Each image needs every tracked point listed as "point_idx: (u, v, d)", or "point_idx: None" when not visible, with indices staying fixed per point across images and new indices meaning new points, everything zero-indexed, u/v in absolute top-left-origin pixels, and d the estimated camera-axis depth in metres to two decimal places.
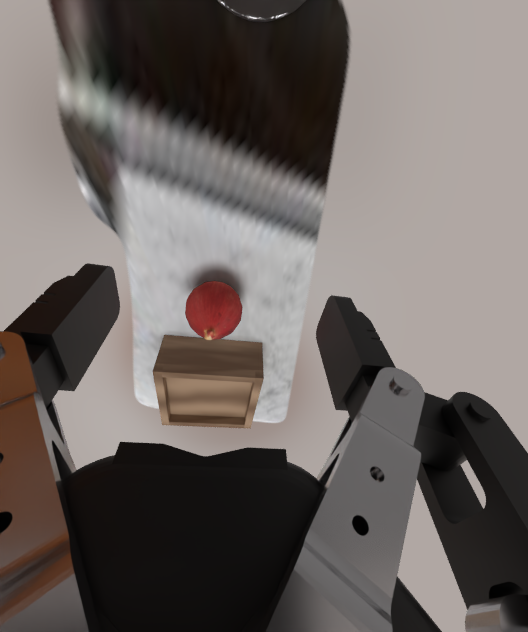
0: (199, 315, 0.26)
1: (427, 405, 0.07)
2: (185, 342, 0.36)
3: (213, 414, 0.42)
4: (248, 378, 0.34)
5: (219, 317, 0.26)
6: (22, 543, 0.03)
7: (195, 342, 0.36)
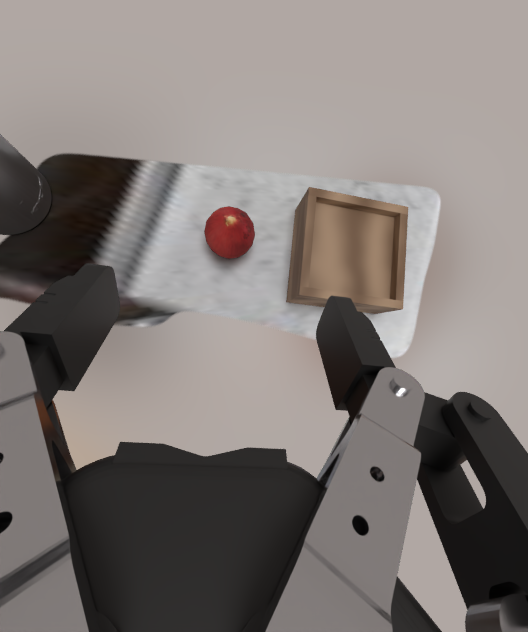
0: (217, 232, 0.30)
1: (427, 405, 0.07)
2: (290, 279, 0.36)
3: (389, 251, 0.35)
4: (309, 201, 0.33)
5: (218, 215, 0.30)
6: (22, 543, 0.03)
7: (291, 270, 0.37)
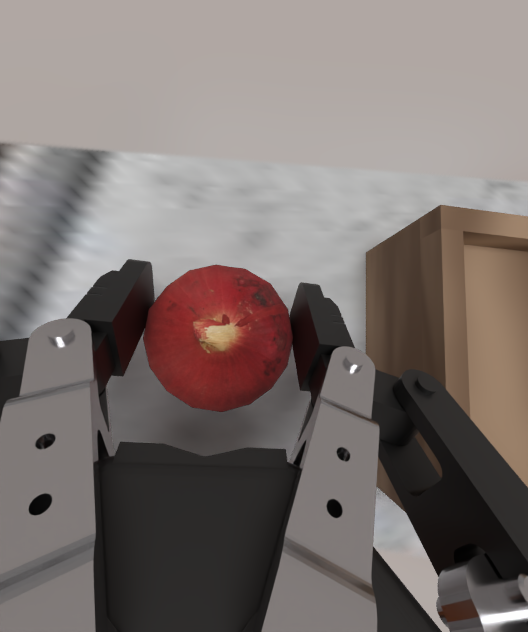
0: (175, 367, 0.09)
1: (380, 382, 0.08)
2: None
3: None
4: (444, 248, 0.11)
5: (177, 307, 0.09)
6: (55, 530, 0.03)
7: None
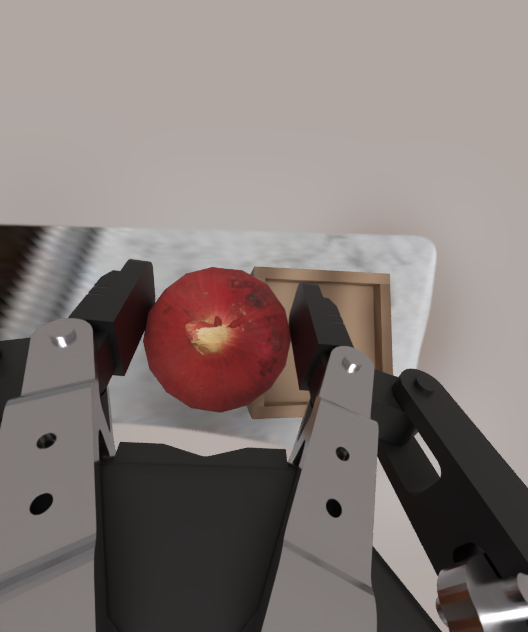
0: (171, 369, 0.09)
1: (379, 382, 0.08)
2: None
3: (370, 333, 0.27)
4: None
5: (172, 310, 0.09)
6: (56, 529, 0.03)
7: None
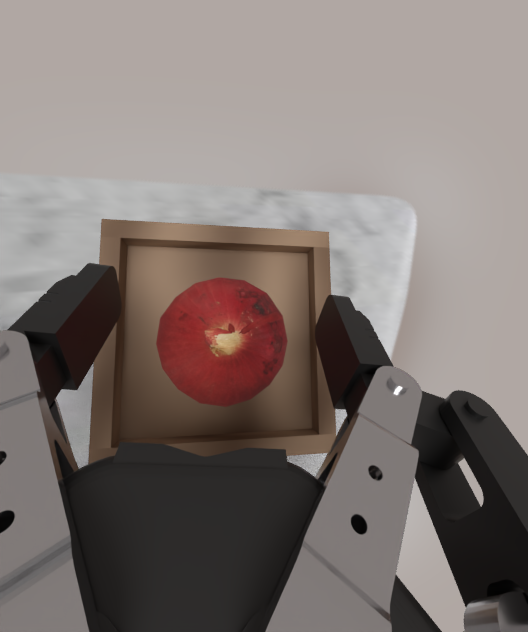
0: (187, 368, 0.10)
1: (425, 404, 0.07)
2: None
3: (303, 325, 0.17)
4: (102, 251, 0.15)
5: (188, 317, 0.10)
6: (24, 543, 0.03)
7: None
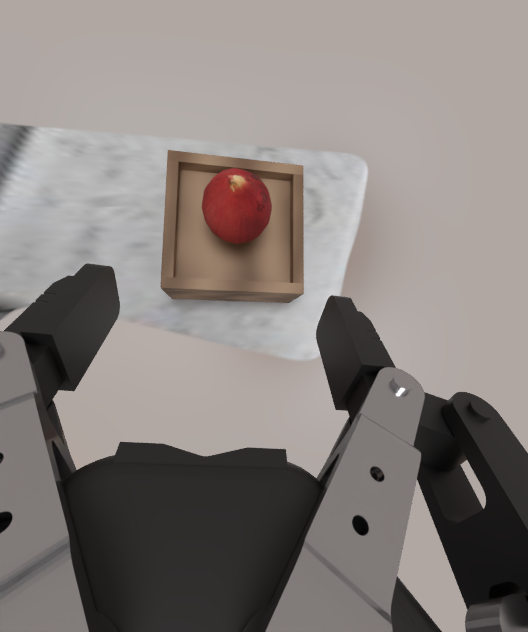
0: (219, 203, 0.21)
1: (427, 405, 0.07)
2: None
3: (286, 224, 0.28)
4: (168, 168, 0.26)
5: (219, 178, 0.21)
6: (21, 544, 0.03)
7: None
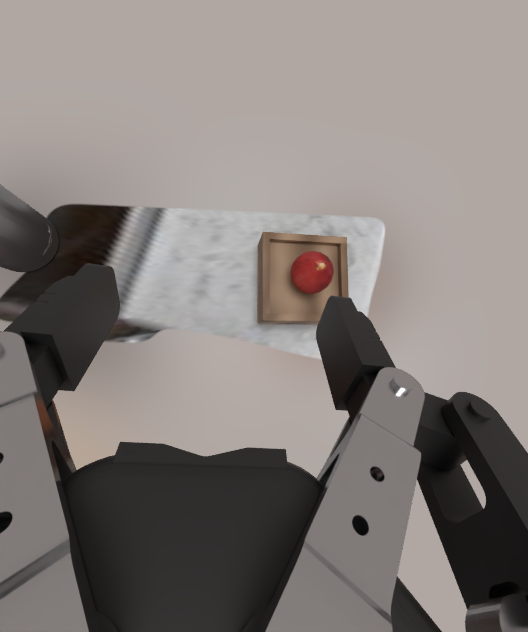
0: (307, 275, 0.36)
1: (427, 405, 0.07)
2: (258, 304, 0.44)
3: (335, 275, 0.43)
4: (263, 244, 0.40)
5: (308, 260, 0.36)
6: (22, 543, 0.03)
7: (258, 297, 0.45)
